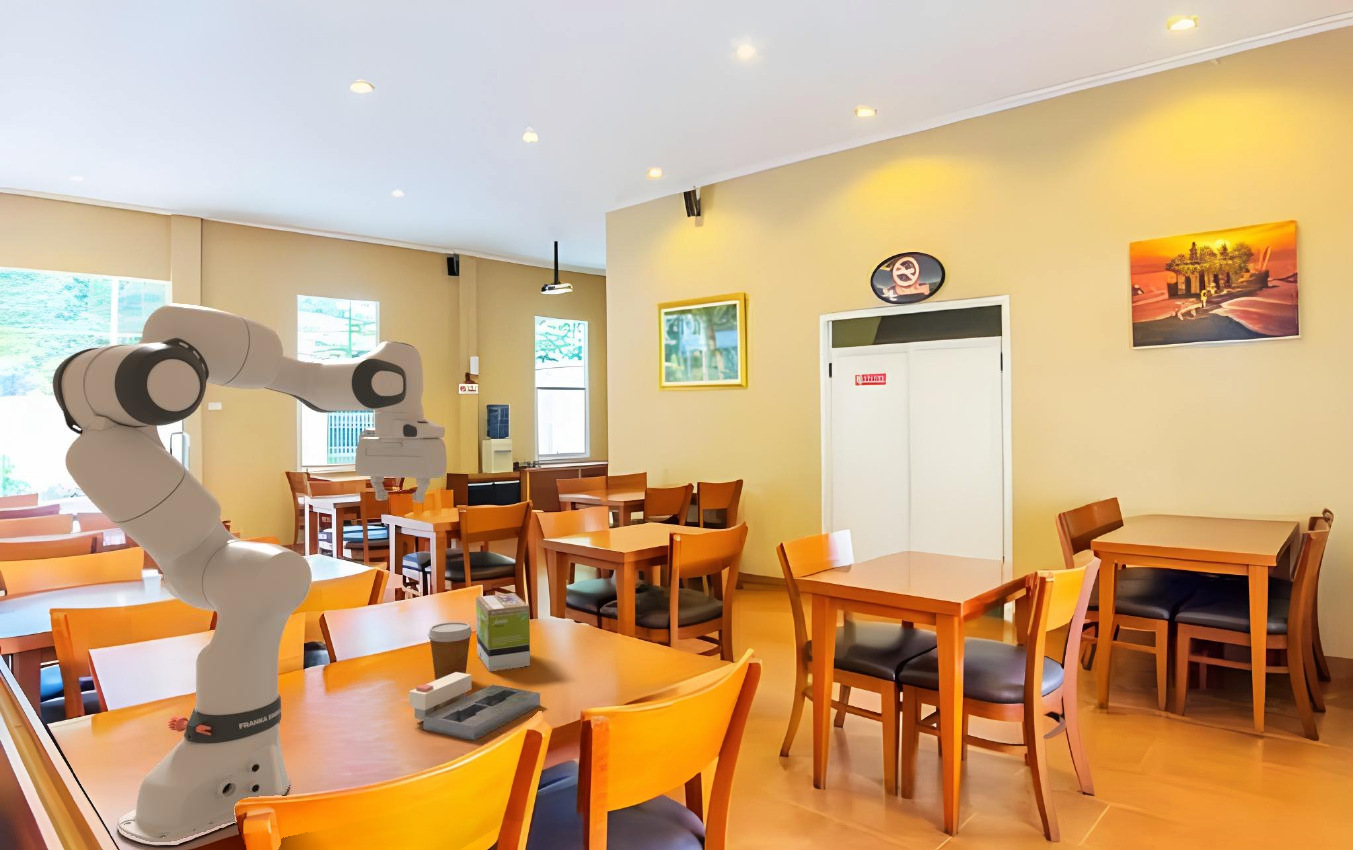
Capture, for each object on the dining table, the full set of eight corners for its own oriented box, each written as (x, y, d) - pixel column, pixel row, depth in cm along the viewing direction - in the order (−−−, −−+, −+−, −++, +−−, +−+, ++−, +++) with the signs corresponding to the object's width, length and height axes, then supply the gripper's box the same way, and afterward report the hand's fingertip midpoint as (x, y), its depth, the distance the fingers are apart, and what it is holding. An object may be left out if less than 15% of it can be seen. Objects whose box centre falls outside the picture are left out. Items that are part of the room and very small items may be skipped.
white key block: (425, 722, 149) (425, 691, 149) (409, 718, 151) (409, 688, 151) (471, 700, 161) (471, 671, 161) (456, 697, 163) (456, 669, 163)
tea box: (475, 655, 195) (475, 595, 195) (516, 650, 200) (515, 591, 200) (488, 672, 182) (487, 608, 182) (531, 667, 186) (531, 604, 186)
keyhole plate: (474, 741, 142) (474, 727, 142) (423, 729, 148) (423, 716, 148) (540, 705, 160) (540, 693, 160) (492, 696, 166) (492, 684, 166)
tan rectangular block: (439, 719, 153) (439, 704, 153) (422, 716, 155) (422, 700, 155) (459, 710, 158) (459, 695, 158) (442, 706, 160) (442, 692, 160)
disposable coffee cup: (460, 689, 170) (460, 633, 170) (419, 686, 172) (419, 631, 172) (479, 675, 180) (479, 622, 180) (441, 673, 181) (441, 620, 181)
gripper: (346, 428, 152) (347, 500, 153) (427, 428, 144) (428, 505, 144) (372, 428, 158) (372, 497, 158) (451, 428, 149) (452, 501, 149)
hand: (400, 501), depth 151 cm, fingers open, 8 cm apart
